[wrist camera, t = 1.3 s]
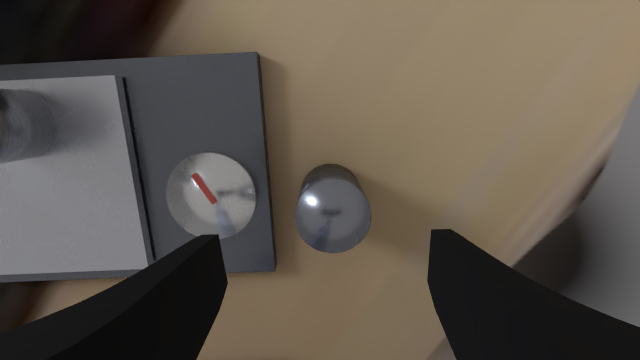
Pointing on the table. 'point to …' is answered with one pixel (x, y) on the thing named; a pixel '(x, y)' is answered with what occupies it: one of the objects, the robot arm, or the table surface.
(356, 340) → the table surface
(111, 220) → the pan
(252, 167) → the scale base
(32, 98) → the cylinder
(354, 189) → the cylinder
